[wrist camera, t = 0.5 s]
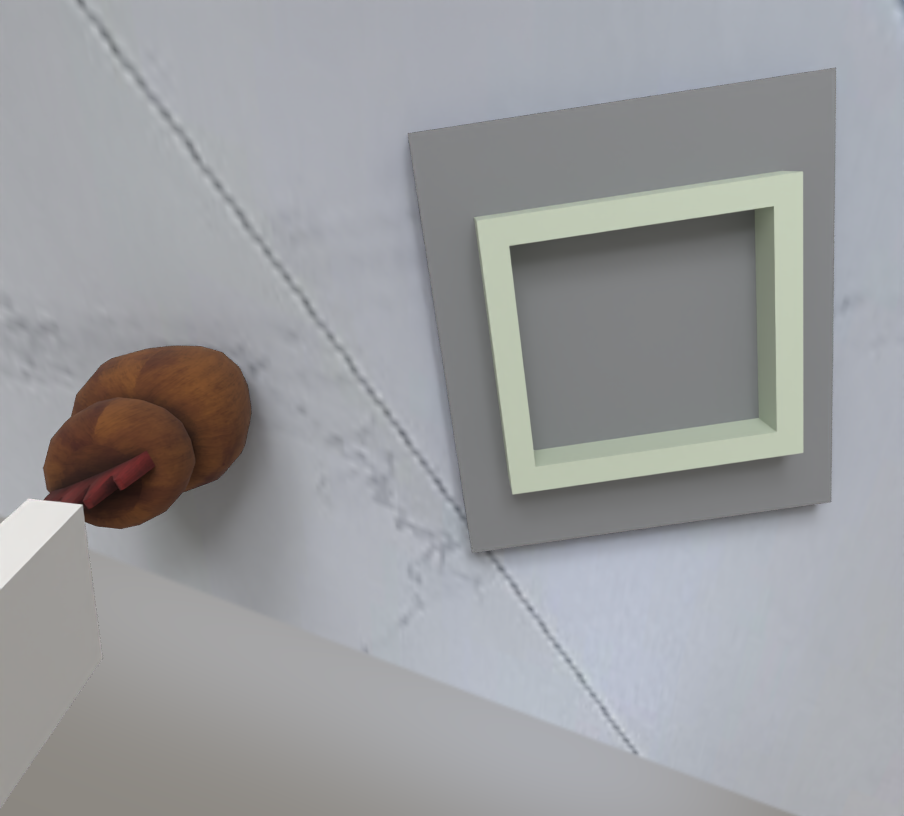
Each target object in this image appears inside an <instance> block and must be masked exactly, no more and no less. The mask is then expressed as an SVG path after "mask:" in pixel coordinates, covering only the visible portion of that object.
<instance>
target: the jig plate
mask: <svg viewBox="0 0 904 816" xmlns="http://www.w3.org/2000/svg"><path fill="white" fill-rule="evenodd" d="M835 114H836V68H830V69H824V70H817V71H811V72H804V73H798V74H791V75H785V76H778V77H772V78H765V79H759V80H752V81H746V82H739V83H733V84H726V85H720V86H713V87H707V88H700V89H694V90H687V91H681V92H674V93H668V94H661V95H655V96H648V97H642V98H635V99H629V100H622V101H616V102H609V103H603V104H596V105H590V106H583V107H577V108H570V109H564V110H557V111H551V112H544V113H537V114H531V115H524V116H518V117H511V118H505V119H498V120H492V121H485V122H479V123H472V124H466V125H459V126H453V127H446V128H440V129H433V130H427V131H420V132H414V133H408V139H409V146H410V152H411V159H412V165H413V172H414V178H415V185H416V191H417V198H418V204H419V211H420V217H421V224H422V230H423V237H424V243H425V250H426V256H427V263H428V269H429V276H430V282H431V289H432V295H433V302H434V308H435V315H436V321H437V328H438V334H439V341H440V347H441V354H442V360H443V367H444V373H445V380H446V386H447V393H448V399H449V406H450V412H451V419H452V425H453V432H454V438H455V445H456V451H457V458H458V464H459V471H460V478H461V484H462V491H463V497H464V504H465V510H466V517H467V523H468V530H469V536H470V543H471V549H472V553H476V552H483V551H490V550H497V549H504V548H511V547H518V546H525V545H532V544H539V543H546V542H553V541H560V540H568V539H575V538H582V537H589V536H596V535H603V534H610V533H617V532H624V531H631V530H638V529H645V528H652V527H659V526H666V525H673V524H680V523H687V522H694V521H701V520H708V519H715V518H723V517H730V516H737V515H744V514H751V513H758V512H765V511H772V510H779V509H786V508H793V507H800V506H807V505H814V504H821V503H828V502H831V468H832V379H833V291H834V202H835Z"/></svg>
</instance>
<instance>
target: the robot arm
mask: <svg viewBox="0 0 904 816" xmlns="http://www.w3.org/2000/svg"><path fill="white" fill-rule="evenodd" d="M102 659H103V656H102V648H101V641H100V633H99V625H98V618H97V610H96V603H95V595H94V587H93V580H92V572H91V564H90V557H89V549H88V541H87V534H86V526H85V518H84V511H83V505H81V504H72V503H63V502H55V501H46V500H37V499H27V500H26V501H25V502H24V503H23V504H22V505H21V506H20V507H18V508H17V509H16V510H15V511H14V512H13V513H12V514H11V515H10V516H8V517H7V518H6V519H5V520H4V521H3V522H2V523H1V524H0V808H1V807H2V806H3V804H4V803H5V801H6V800H7V798H8V797H9V795H10V794H11V792H12V791H13V789H14V788H15V787H16V785H17V784H18V782H19V780H20V779H21V778H22V776H23V775H24V773H25V772H26V770H27V769H28V768H29V766H30V765H31V763H32V762H33V760H34V759H35V757H36V756H37V754H38V753H39V751H40V750H41V748H42V747H43V746H44V744H45V742H46V741H47V740H48V738H49V737H50V735H51V734H52V732H53V731H54V729H55V728H56V727H57V725H58V724H59V722H60V721H61V719H62V718H63V716H64V715H65V713H66V712H67V710H68V709H69V708H70V706H71V705H72V703H73V702H74V700H75V699H76V697H77V696H78V694H79V693H80V691H81V690H82V688H83V687H84V686H85V684H86V683H87V681H88V680H89V678H90V677H91V675H92V674H93V672H94V671H95V669H96V668H97V666H98V665H99V664H100V662H101V660H102Z"/></svg>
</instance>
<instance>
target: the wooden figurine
mask: <svg viewBox="0 0 904 816" xmlns="http://www.w3.org/2000/svg"><path fill="white" fill-rule="evenodd" d="M250 418H251V403H250V397H249V390H248V385H247V383H246V381H245V378H244V376H243V374H242V372H241V369H240V368H239V366H237V365H236V364H235V363H234V362H233V361H232V360H231V359H229V358H228V357H227V356H226V355H225V354H224V353H222V352H220V351H216V350H213V349H209V348H205V347H201V346H166V347H157V348H148V349H144V350H140V351H137V352H133V353H129V354H126V355H122V356H118V357H115V358H112V359H110V360H108V361H107V362H105V363H104V364H102V365H101V366H100V367H99V368H98V370H97V371H96V372H95V373H94V374H93V375H92V377H91V378H90V379H89V380H88V381H87V383H86V384H85V385H84V386H83V387H82V388H81V390H80V391H79V392H78V393H77V394H76V398H75V402H74V407H73V411H72V415H71V417H70V418H69V419H68V420H67V421H66V422H65V423H64V424H63V425H62V427H61V428H60V429H59V430H58V431H57V433H56V434H55V435H54V436H53V437H52V439H51V440H50V444H49V448H48V452H47V456H46V460H45V464H44V467H43V470H44V476H45V481H46V487H47V490H48V491H49V493H50V494H49V495H48V496H47V497H46V498H45V499H44V500H46V501H55V502H63V503H72V504H81V505H83V511H84V518H85V522H87V523H89V524H92V525H95V526H99V527H108V528H116V529H123V528H128V527H132V526H136V525H140V524H142V523H144V522H146V521H148V520H150V519H152V518H154V517H156V516H158V515H160V514H161V513H163V512H165V511H167V509H168V508H169V507H170V506H171V505H172V504H173V503H174V502H175V501H176V499H177V498H178V497H179V496H180V495H181V494H182V492H186V491H188V490H191V489H194V488H196V487H199V486H202V485H204V484H207V483H210V482H212V481H215V480H217V479H218V478H219V477H220V476H222V475H223V474H224V473H225V472H226V470H227V469H228V468H229V467H230V466H231V465H232V463H233V462H234V461H235V460H236V459H237V457H238V456H239V455H240V454H241V452H242V450H243V448H244V446H245V442H246V438H247V433H248V428H249V424H250Z"/></svg>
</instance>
